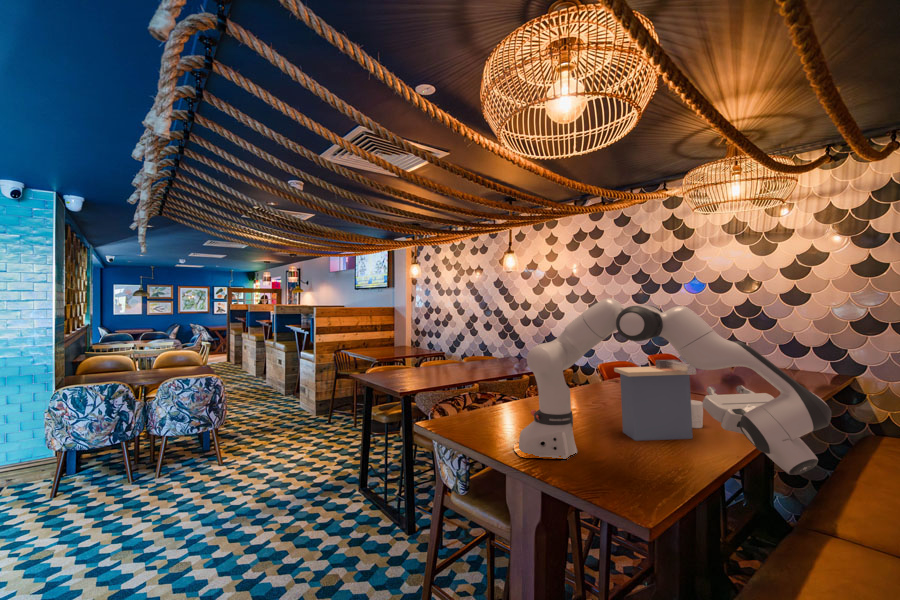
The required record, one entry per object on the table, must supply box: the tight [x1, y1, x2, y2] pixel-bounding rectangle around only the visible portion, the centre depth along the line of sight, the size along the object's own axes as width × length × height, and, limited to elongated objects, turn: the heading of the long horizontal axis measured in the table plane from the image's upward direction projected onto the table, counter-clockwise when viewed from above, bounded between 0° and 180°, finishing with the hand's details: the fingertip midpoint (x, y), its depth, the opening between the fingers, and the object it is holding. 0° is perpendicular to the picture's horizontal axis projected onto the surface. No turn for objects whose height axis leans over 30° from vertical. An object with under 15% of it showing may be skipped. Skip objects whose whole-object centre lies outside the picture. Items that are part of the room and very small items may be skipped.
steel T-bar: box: [655, 359, 697, 375], centre depth 142 cm, size 8×16×3 cm, turn 1°
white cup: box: [691, 399, 704, 429], centre depth 158 cm, size 8×8×10 cm
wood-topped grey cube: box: [613, 365, 694, 442], centre depth 148 cm, size 26×12×26 cm, turn 90°
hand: (723, 387), depth 119 cm, fingers open, 8 cm apart
